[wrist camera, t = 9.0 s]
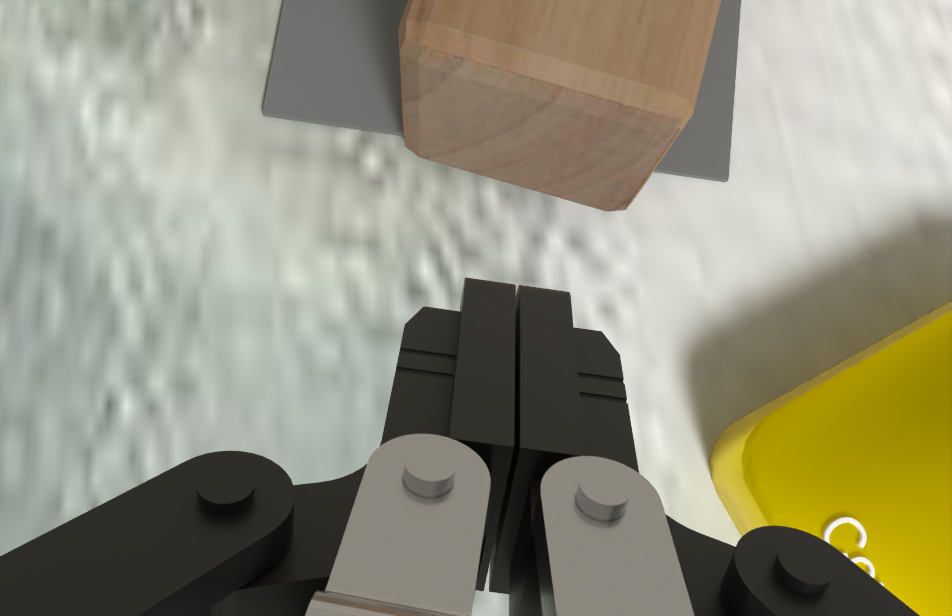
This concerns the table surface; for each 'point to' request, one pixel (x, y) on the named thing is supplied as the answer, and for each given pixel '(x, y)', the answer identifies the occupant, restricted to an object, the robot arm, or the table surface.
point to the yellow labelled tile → (859, 462)
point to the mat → (379, 81)
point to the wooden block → (553, 89)
